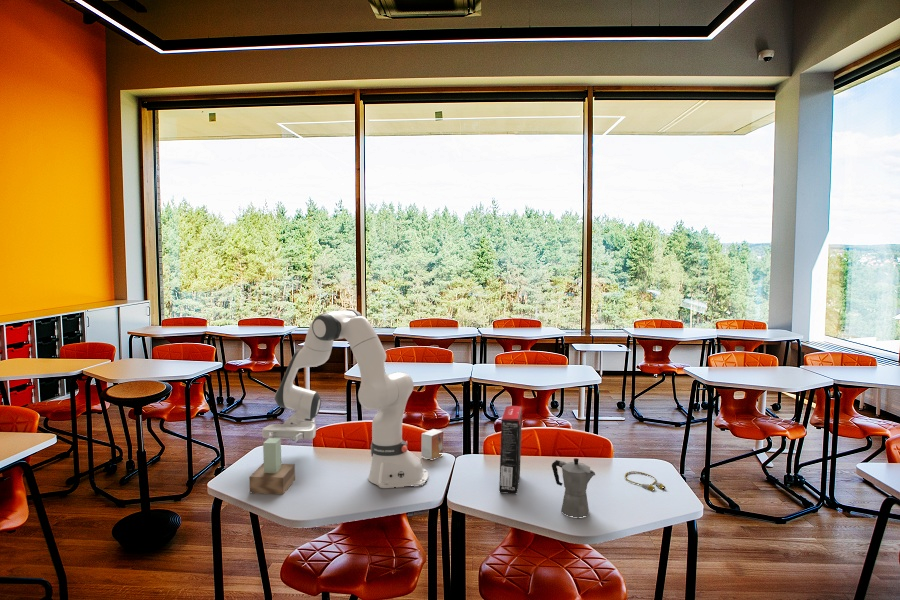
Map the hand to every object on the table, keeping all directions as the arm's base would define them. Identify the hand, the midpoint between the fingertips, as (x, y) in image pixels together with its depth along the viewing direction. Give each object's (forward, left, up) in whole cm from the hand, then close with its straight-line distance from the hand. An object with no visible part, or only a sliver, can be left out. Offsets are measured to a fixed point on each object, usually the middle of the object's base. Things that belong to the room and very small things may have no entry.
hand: (282, 438), depth 203 cm
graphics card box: (-86, +3, -14) cm, 87 cm away
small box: (-55, -22, -14) cm, 61 cm away
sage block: (0, +10, -8) cm, 13 cm away
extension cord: (-135, -3, -15) cm, 136 cm away
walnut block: (0, +10, -14) cm, 17 cm away
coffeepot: (-105, +22, -14) cm, 108 cm away
